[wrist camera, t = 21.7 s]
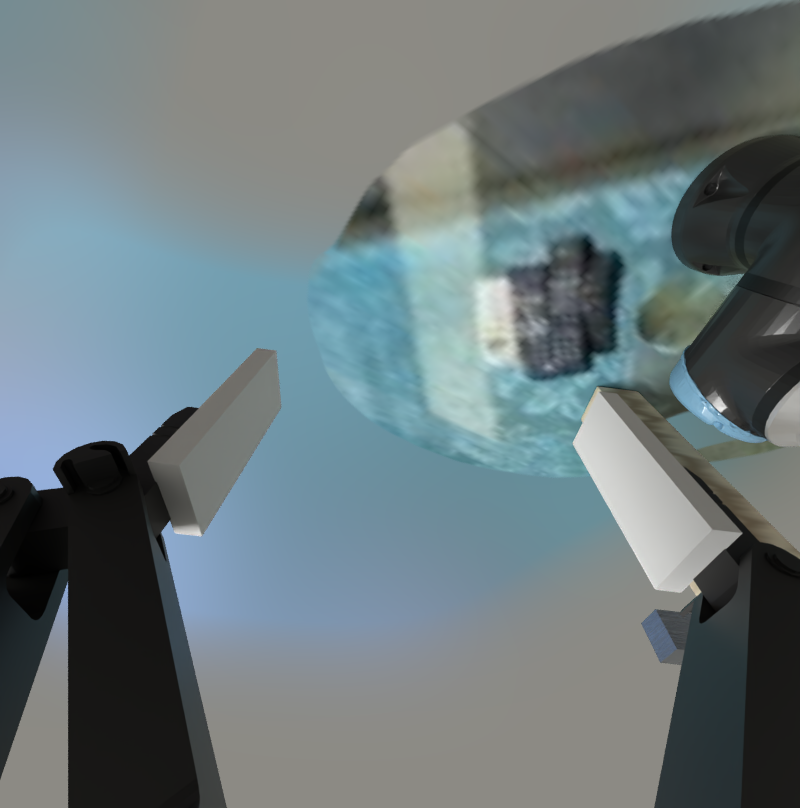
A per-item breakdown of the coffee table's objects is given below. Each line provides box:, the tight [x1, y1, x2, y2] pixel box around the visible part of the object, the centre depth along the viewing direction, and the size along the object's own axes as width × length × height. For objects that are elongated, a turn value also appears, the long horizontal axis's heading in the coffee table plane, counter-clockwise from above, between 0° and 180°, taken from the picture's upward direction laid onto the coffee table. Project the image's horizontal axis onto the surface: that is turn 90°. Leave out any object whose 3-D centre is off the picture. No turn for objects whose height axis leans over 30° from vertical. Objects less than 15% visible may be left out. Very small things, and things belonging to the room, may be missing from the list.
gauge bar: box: [641, 609, 692, 665], centre depth 29 cm, size 18×7×5 cm, turn 83°
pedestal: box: [581, 386, 800, 596], centre depth 46 cm, size 8×8×36 cm
